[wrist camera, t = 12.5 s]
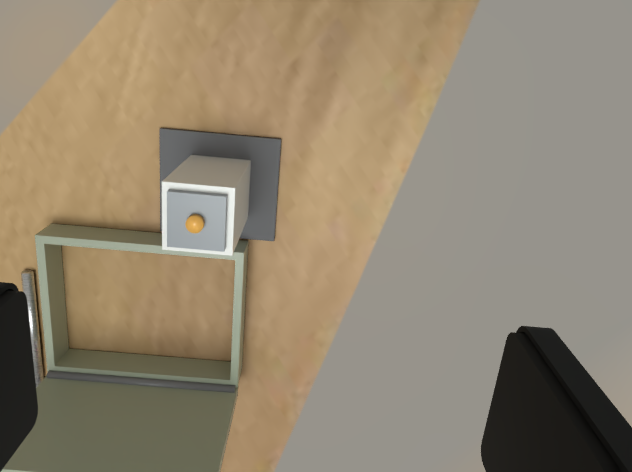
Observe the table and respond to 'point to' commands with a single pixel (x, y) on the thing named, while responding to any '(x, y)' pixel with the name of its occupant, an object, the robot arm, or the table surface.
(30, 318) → the rod
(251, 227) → the mat
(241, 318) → the case
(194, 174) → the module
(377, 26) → the table surface
